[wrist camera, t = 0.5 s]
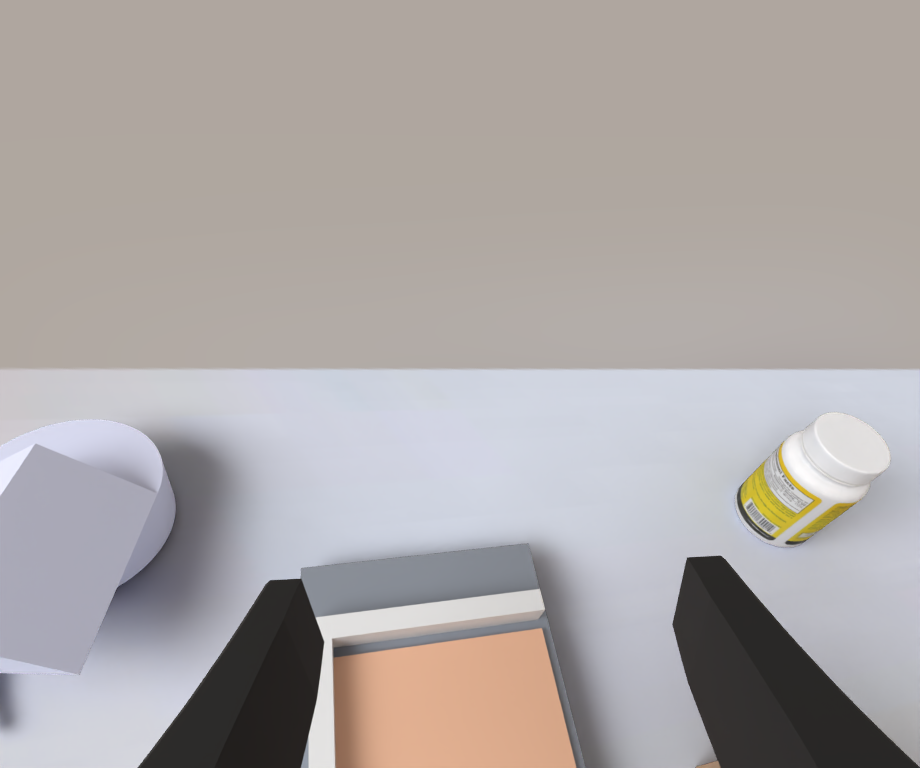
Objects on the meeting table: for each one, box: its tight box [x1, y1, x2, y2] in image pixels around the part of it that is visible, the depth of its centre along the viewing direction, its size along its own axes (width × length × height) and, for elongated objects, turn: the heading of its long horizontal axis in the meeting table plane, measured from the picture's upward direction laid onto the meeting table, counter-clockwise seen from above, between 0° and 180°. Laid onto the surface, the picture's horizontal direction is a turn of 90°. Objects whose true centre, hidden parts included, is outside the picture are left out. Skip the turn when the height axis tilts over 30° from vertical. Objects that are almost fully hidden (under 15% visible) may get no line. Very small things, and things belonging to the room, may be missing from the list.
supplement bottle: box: [735, 412, 891, 548], centre depth 33 cm, size 5×5×8 cm
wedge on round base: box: [0, 419, 176, 675], centre depth 26 cm, size 9×7×13 cm
